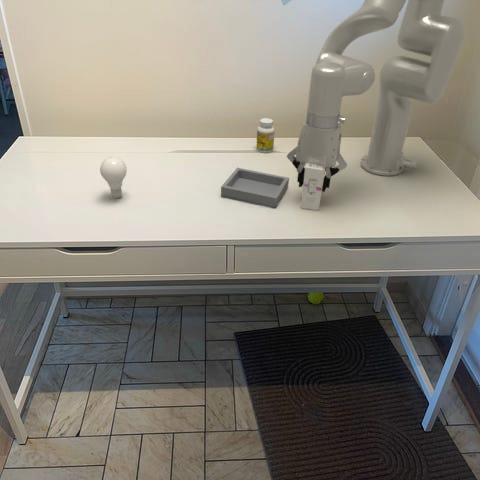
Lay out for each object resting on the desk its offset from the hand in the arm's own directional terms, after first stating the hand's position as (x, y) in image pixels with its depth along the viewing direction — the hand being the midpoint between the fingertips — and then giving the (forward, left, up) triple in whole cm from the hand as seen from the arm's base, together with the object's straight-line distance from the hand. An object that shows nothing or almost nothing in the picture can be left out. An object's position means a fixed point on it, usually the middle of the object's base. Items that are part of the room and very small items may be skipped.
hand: (312, 186), depth 121 cm
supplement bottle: (+21, -26, -5) cm, 34 cm away
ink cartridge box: (0, 0, -5) cm, 5 cm away
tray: (+15, +1, -5) cm, 16 cm away
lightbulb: (+47, +18, -5) cm, 51 cm away
